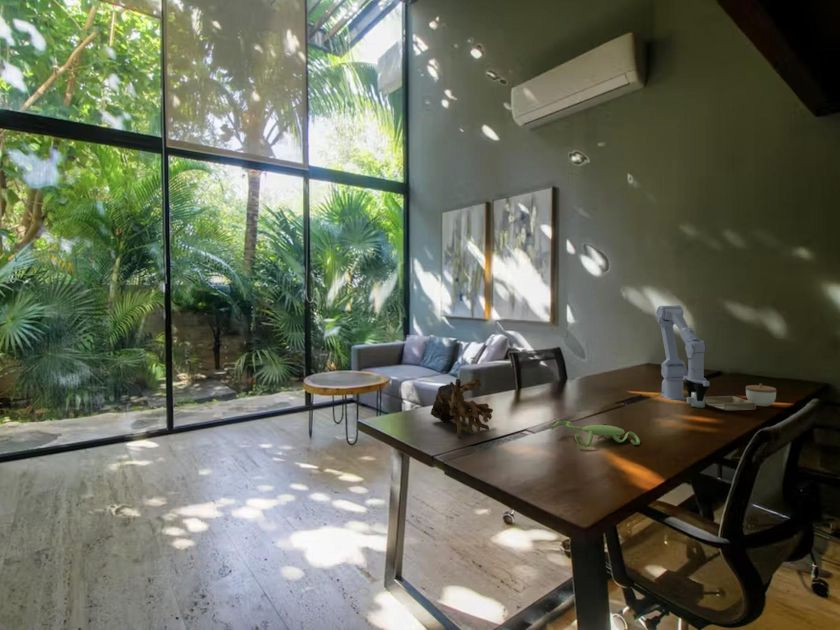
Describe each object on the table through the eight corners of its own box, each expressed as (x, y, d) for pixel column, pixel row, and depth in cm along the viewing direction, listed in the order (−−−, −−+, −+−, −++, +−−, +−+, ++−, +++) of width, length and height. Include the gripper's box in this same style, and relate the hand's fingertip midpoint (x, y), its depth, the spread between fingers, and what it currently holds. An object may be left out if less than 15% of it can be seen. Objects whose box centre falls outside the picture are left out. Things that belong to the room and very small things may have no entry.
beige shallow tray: (703, 403, 200) (703, 396, 200) (732, 402, 201) (732, 395, 201) (725, 411, 187) (725, 403, 187) (755, 410, 187) (755, 403, 187)
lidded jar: (765, 402, 200) (765, 381, 200) (782, 408, 189) (782, 386, 189) (740, 402, 201) (740, 381, 201) (755, 408, 190) (755, 386, 190)
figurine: (546, 435, 162) (546, 419, 162) (613, 429, 166) (613, 415, 166) (571, 452, 144) (571, 435, 144) (646, 445, 148) (646, 429, 148)
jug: (684, 405, 197) (684, 391, 197) (700, 404, 198) (700, 391, 197) (691, 408, 192) (691, 394, 192) (707, 407, 193) (707, 393, 192)
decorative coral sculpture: (455, 395, 194) (512, 391, 173) (444, 447, 184) (503, 450, 163) (413, 371, 180) (470, 364, 159) (399, 427, 170) (457, 427, 149)
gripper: (716, 370, 187) (716, 403, 188) (694, 365, 202) (694, 395, 202) (700, 371, 187) (700, 403, 187) (678, 366, 201) (678, 396, 202)
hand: (695, 399), depth 195 cm, fingers closed on jug, 5 cm apart
